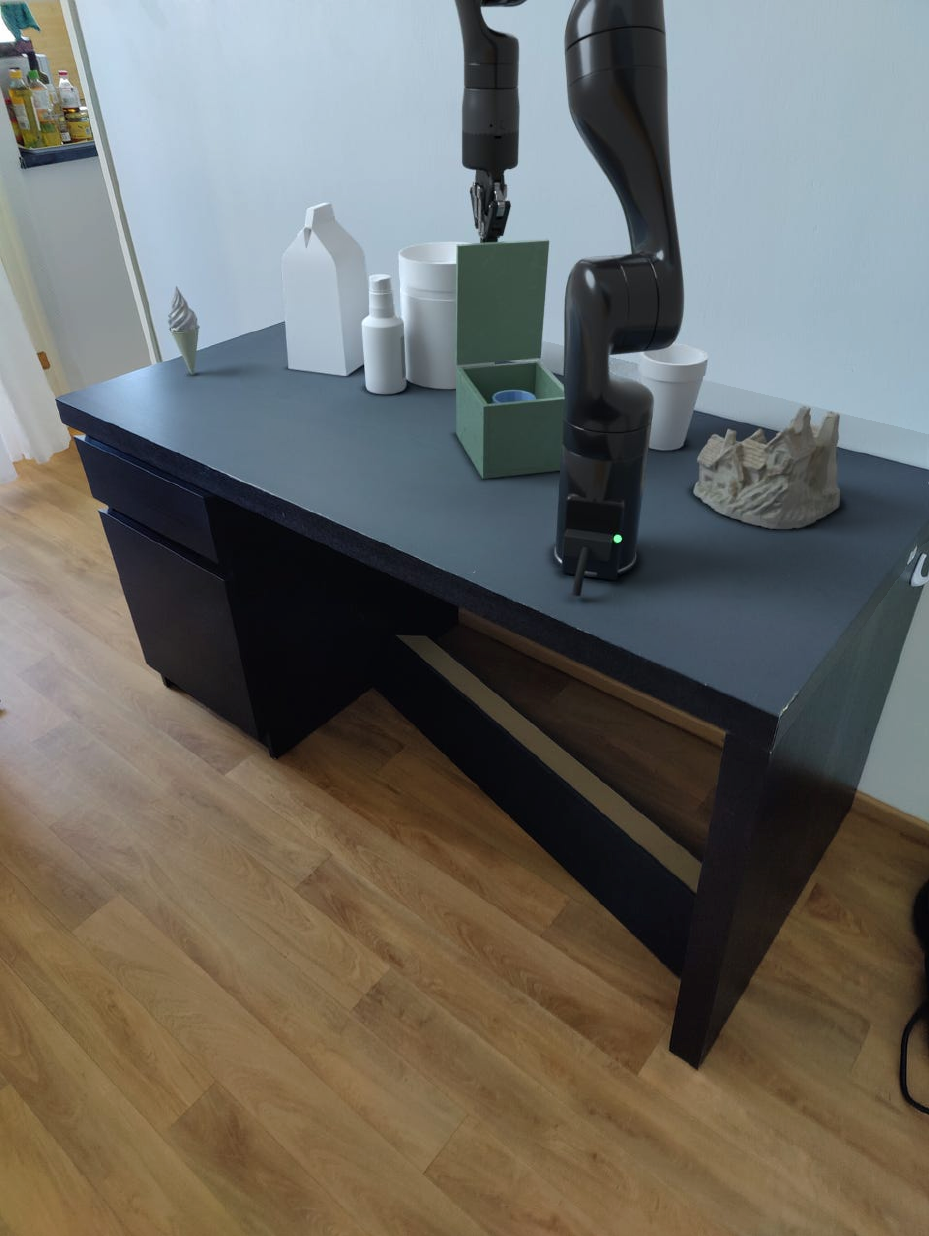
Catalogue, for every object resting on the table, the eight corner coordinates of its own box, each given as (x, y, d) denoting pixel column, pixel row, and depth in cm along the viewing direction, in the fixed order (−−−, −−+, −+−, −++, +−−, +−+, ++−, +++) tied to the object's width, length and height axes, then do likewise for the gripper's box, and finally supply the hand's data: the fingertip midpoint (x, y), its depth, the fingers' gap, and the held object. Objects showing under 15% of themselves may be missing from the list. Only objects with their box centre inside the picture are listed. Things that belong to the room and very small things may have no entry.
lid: (549, 240, 118) (537, 229, 122) (457, 245, 116) (448, 234, 120) (540, 358, 129) (530, 344, 133) (456, 365, 126) (448, 351, 130)
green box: (570, 469, 123) (575, 397, 117) (482, 479, 120) (483, 406, 114) (536, 426, 135) (539, 360, 129) (456, 434, 133) (455, 367, 127)
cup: (528, 458, 124) (530, 407, 119) (486, 454, 125) (487, 403, 121) (537, 442, 128) (539, 392, 124) (497, 437, 130) (498, 388, 125)
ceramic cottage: (858, 505, 113) (880, 390, 105) (768, 543, 106) (783, 424, 98) (764, 468, 124) (776, 362, 116) (677, 501, 118) (684, 390, 110)
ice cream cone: (194, 367, 158) (178, 280, 149) (213, 373, 155) (198, 284, 147) (171, 375, 155) (154, 286, 146) (190, 381, 152) (174, 291, 144)
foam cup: (694, 457, 126) (708, 367, 118) (628, 452, 127) (638, 362, 120) (693, 431, 133) (707, 345, 126) (631, 426, 135) (641, 341, 128)
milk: (346, 376, 154) (332, 214, 139) (288, 368, 157) (269, 209, 143) (376, 355, 163) (366, 201, 148) (321, 348, 167) (306, 197, 152)
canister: (508, 382, 151) (511, 259, 140) (419, 394, 147) (415, 267, 135) (475, 353, 164) (476, 238, 152) (392, 364, 159) (386, 246, 148)
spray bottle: (414, 385, 150) (410, 274, 140) (390, 397, 145) (384, 284, 135) (382, 378, 153) (375, 269, 143) (357, 390, 148) (349, 278, 138)
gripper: (451, 122, 120) (452, 256, 130) (475, 133, 110) (474, 278, 120) (504, 120, 122) (501, 253, 132) (532, 132, 111) (527, 275, 121)
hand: (488, 265), depth 126 cm, fingers closed
